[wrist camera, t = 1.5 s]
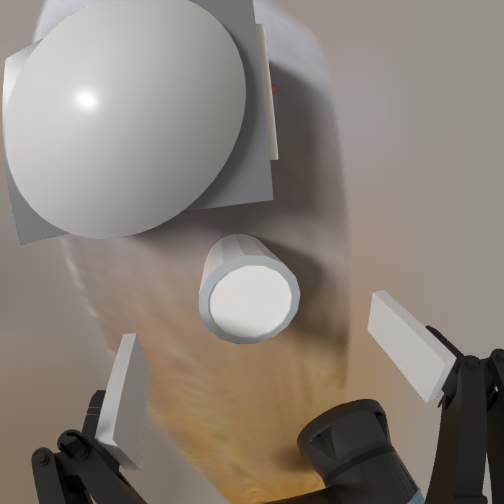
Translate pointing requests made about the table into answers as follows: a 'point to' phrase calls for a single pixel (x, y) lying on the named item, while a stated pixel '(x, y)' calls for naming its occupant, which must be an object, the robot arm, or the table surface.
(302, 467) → the table surface
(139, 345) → the robot arm
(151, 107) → the dial scale
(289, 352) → the table surface
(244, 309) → the shot glass
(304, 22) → the table surface
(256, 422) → the table surface
